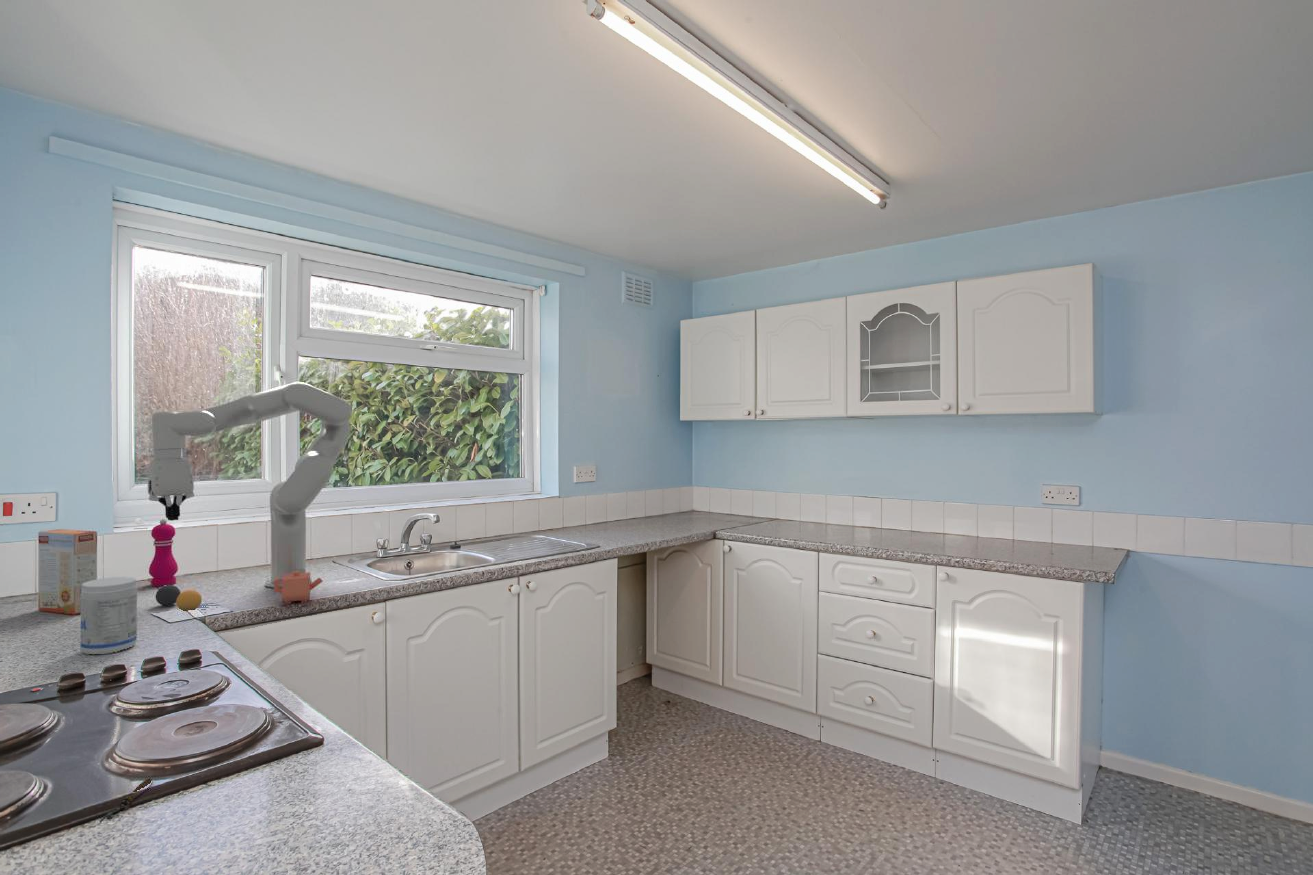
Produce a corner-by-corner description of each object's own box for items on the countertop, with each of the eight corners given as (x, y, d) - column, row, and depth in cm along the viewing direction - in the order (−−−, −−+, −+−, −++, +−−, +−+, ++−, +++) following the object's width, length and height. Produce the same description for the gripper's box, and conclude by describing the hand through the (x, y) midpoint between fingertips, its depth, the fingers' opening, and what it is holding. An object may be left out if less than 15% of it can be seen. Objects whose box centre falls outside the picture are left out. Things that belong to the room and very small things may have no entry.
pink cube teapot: (322, 602, 189) (322, 572, 189) (273, 606, 184) (273, 576, 184) (322, 595, 196) (322, 567, 196) (275, 600, 191) (275, 570, 191)
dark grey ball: (176, 584, 188) (182, 603, 188) (152, 590, 185) (157, 610, 184) (178, 580, 184) (183, 600, 184) (153, 587, 181) (159, 606, 180)
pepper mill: (183, 581, 213) (183, 517, 213) (164, 587, 206) (164, 520, 205) (162, 581, 214) (162, 517, 213) (142, 586, 206) (142, 520, 206)
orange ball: (195, 602, 183) (203, 613, 180) (171, 606, 178) (179, 617, 175) (198, 584, 182) (206, 594, 179) (175, 587, 177) (182, 598, 174)
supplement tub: (76, 649, 147) (75, 581, 147) (130, 639, 154) (130, 574, 154) (86, 659, 141) (86, 588, 141) (142, 648, 148) (142, 580, 148)
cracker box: (99, 610, 179) (98, 530, 179) (72, 615, 174) (72, 533, 174) (63, 605, 184) (63, 527, 184) (37, 611, 178) (36, 530, 178)
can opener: (144, 786, 91) (144, 778, 91) (162, 786, 92) (162, 777, 92) (92, 826, 82) (92, 816, 82) (112, 825, 83) (112, 816, 83)
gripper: (194, 453, 202) (197, 515, 202) (133, 456, 189) (136, 522, 190) (205, 453, 197) (208, 517, 198) (143, 457, 185) (146, 524, 186)
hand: (173, 519), depth 194 cm, fingers closed
